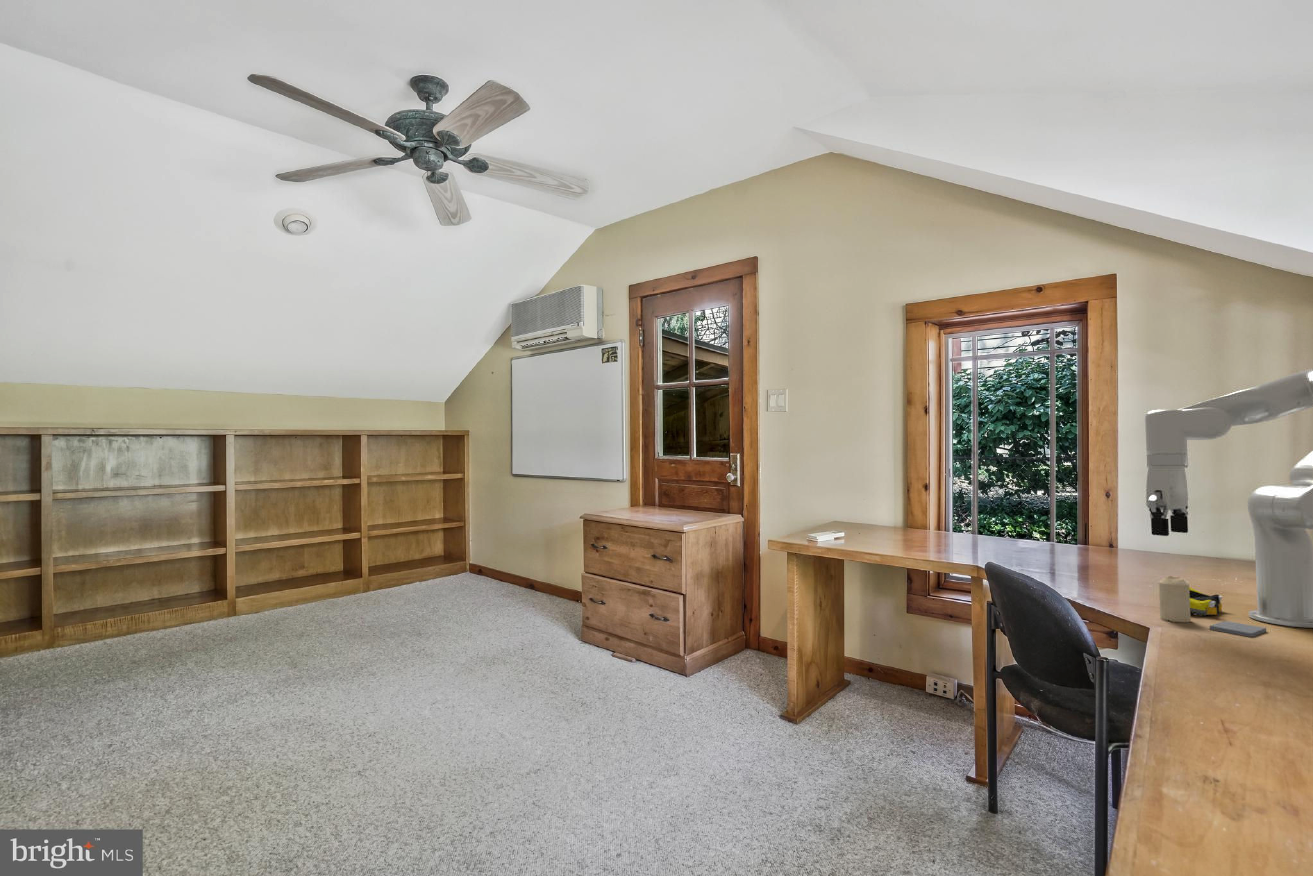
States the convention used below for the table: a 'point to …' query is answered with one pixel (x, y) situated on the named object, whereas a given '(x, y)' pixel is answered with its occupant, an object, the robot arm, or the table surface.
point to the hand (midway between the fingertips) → (1170, 533)
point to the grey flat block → (1238, 628)
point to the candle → (1174, 599)
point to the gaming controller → (1204, 603)
